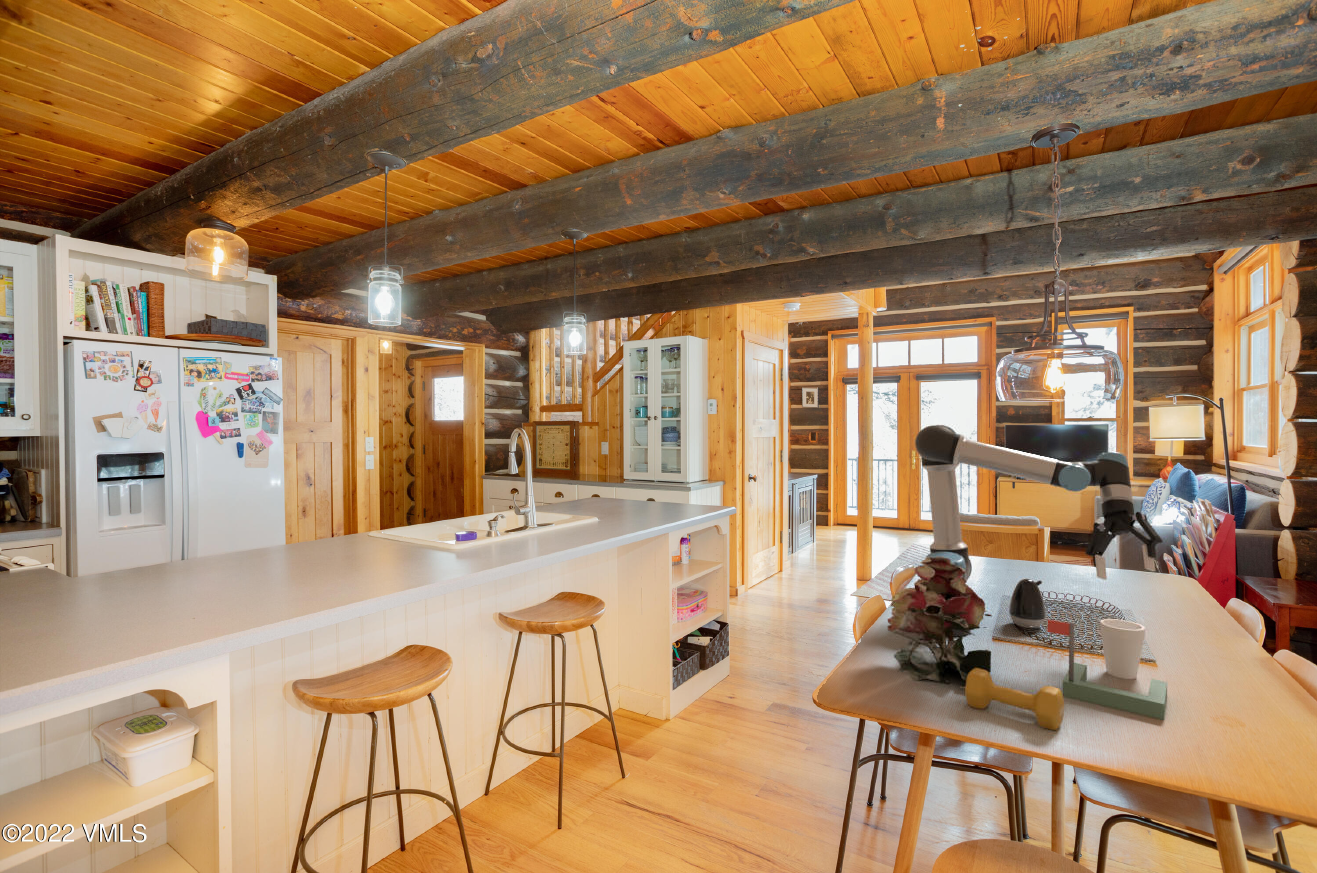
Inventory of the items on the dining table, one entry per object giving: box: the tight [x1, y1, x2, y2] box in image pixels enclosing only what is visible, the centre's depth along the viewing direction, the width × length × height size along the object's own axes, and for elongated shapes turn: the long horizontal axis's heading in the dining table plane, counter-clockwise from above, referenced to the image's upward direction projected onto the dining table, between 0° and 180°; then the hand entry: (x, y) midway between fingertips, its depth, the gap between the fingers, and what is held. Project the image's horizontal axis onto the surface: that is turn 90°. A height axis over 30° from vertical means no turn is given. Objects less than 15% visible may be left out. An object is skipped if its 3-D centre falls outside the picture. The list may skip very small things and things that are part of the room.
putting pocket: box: [1046, 619, 1168, 721], centre depth 152 cm, size 16×22×18 cm
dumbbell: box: [964, 668, 1065, 731], centre depth 141 cm, size 19×9×8 cm, turn 46°
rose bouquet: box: [887, 556, 995, 690], centre depth 168 cm, size 26×29×30 cm
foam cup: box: [1099, 618, 1146, 680], centre depth 164 cm, size 10×9×13 cm
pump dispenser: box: [1008, 578, 1047, 630], centre depth 203 cm, size 10×10×15 cm
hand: (1125, 574), depth 174 cm, fingers open, 13 cm apart
